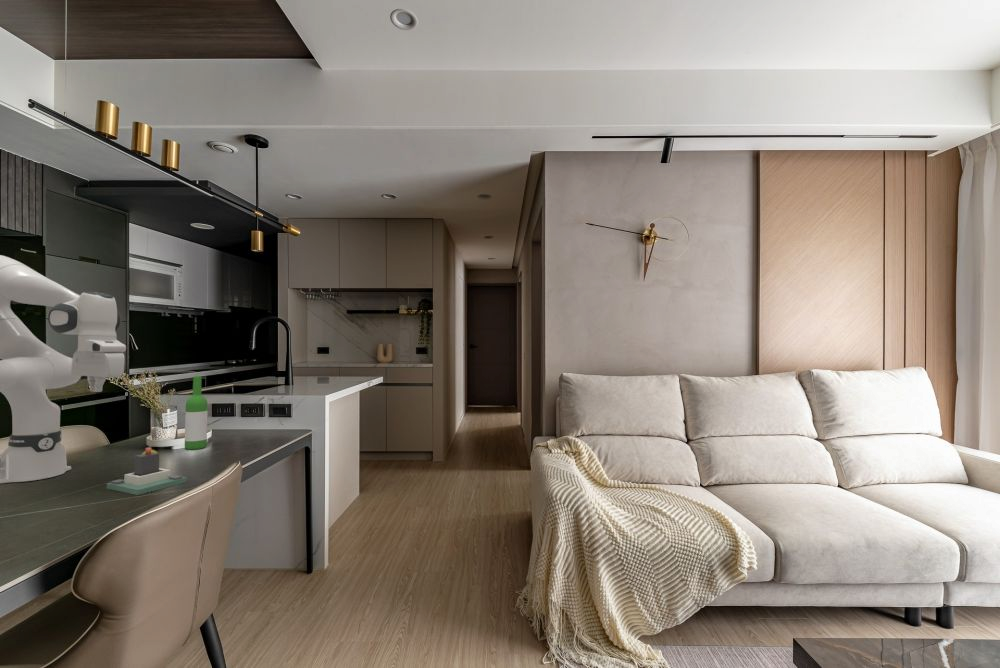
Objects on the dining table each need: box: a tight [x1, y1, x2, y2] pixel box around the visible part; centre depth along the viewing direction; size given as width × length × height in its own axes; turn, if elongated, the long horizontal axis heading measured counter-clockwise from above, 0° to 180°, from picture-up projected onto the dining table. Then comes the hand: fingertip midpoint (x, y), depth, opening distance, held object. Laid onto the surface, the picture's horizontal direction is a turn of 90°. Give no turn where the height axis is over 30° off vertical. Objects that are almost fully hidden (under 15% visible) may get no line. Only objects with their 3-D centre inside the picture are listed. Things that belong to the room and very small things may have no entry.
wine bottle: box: [184, 375, 208, 451], centre depth 195 cm, size 8×8×30 cm
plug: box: [133, 446, 160, 476], centre depth 144 cm, size 4×6×10 cm, turn 158°
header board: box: [106, 467, 187, 496], centre depth 144 cm, size 15×14×4 cm
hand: (96, 391), depth 141 cm, fingers closed
